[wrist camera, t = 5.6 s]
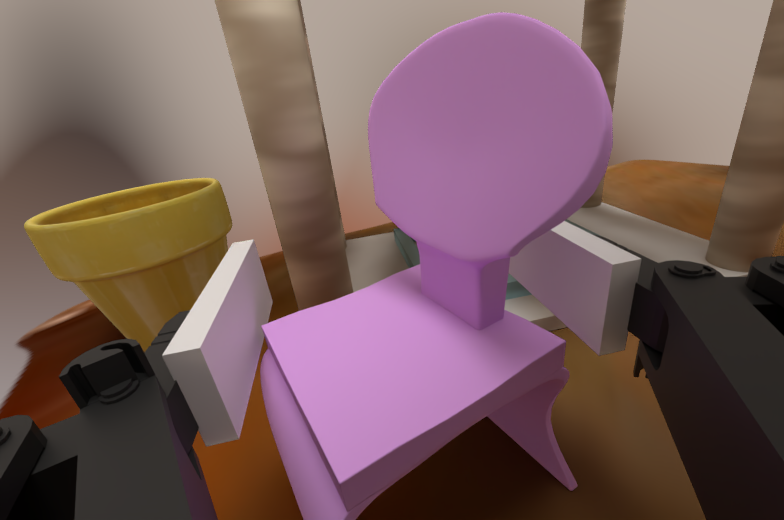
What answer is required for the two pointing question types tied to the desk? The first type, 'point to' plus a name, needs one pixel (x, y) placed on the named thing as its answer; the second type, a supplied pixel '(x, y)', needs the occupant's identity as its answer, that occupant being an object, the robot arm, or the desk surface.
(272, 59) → the canopy shelf
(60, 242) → the plant pot
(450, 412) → the toy chair
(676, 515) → the desk surface
